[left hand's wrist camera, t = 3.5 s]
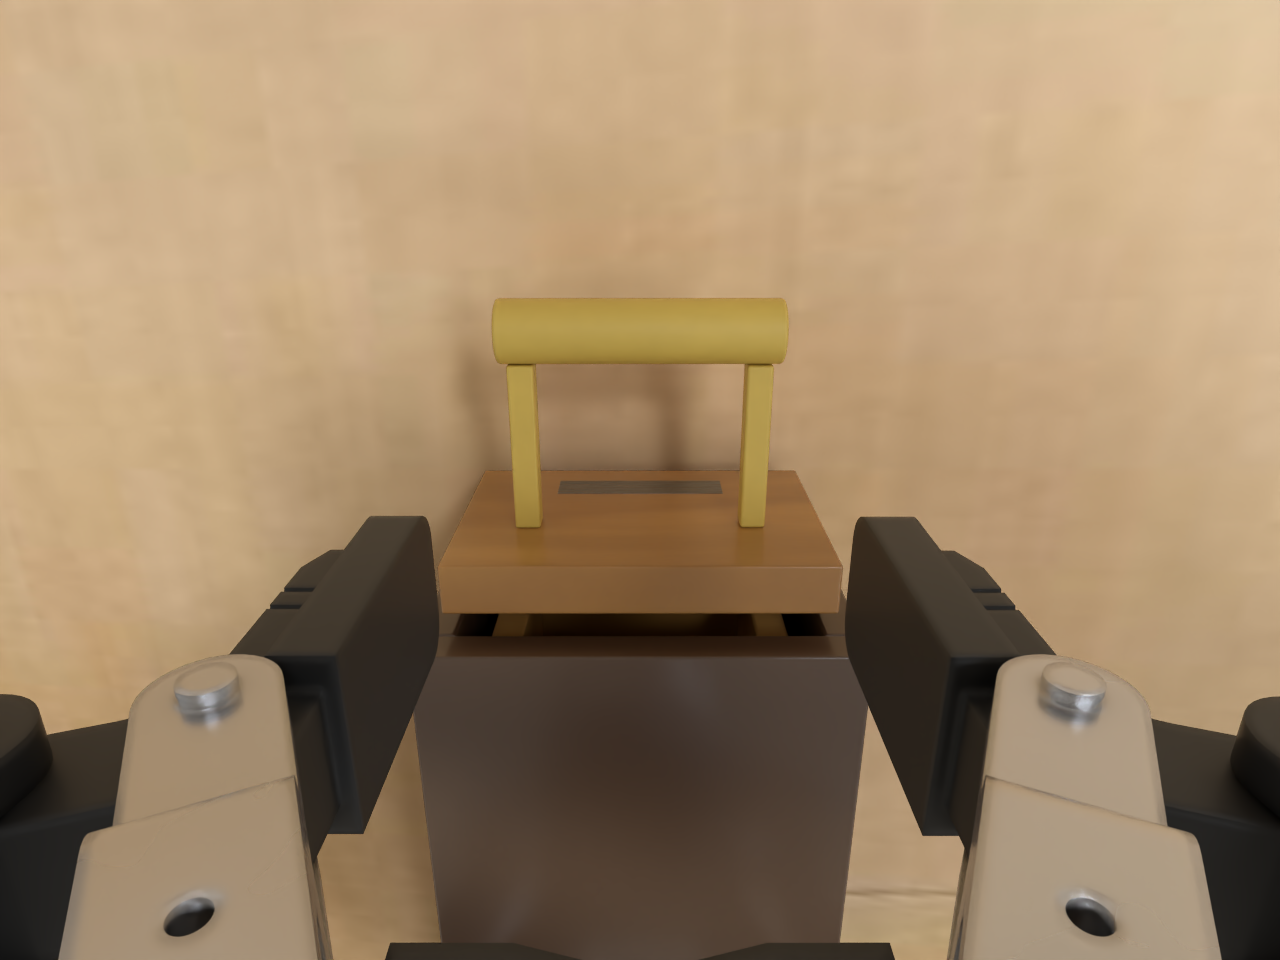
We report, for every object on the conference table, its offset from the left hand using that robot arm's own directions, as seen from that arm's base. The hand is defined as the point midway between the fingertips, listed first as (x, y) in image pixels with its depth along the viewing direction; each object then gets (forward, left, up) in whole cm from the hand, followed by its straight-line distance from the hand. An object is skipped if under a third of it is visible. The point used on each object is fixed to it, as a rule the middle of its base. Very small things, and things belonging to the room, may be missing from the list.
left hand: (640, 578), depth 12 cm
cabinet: (-14, +5, -13) cm, 19 cm away
